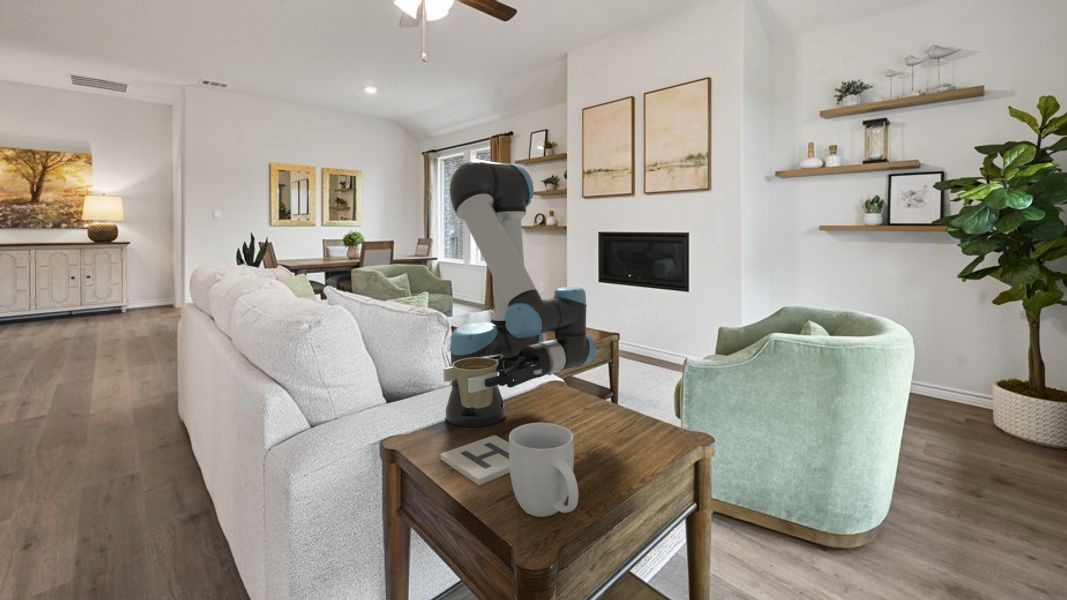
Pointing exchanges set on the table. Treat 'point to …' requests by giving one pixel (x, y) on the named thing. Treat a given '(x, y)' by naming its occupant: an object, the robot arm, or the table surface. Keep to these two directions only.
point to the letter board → (480, 459)
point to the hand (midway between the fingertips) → (456, 380)
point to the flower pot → (470, 370)
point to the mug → (543, 468)
